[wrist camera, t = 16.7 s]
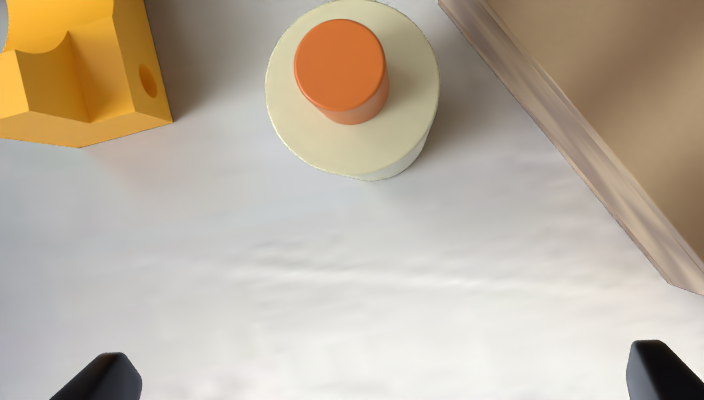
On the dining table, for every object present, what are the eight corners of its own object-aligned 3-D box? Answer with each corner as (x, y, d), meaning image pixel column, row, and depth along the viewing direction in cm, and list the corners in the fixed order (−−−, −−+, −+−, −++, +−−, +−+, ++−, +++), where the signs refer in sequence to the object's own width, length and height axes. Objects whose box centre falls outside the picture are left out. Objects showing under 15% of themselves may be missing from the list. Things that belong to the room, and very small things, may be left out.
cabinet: (920, 98, 20) (1077, 70, 15) (668, 284, 21) (743, 311, 16) (669, -190, 21) (746, -300, 16) (437, 3, 22) (445, -48, 17)
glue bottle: (451, 112, 22) (493, 40, 11) (381, 203, 22) (359, 215, 12) (360, 44, 22) (319, -88, 12) (293, 135, 22) (192, 87, 12)
